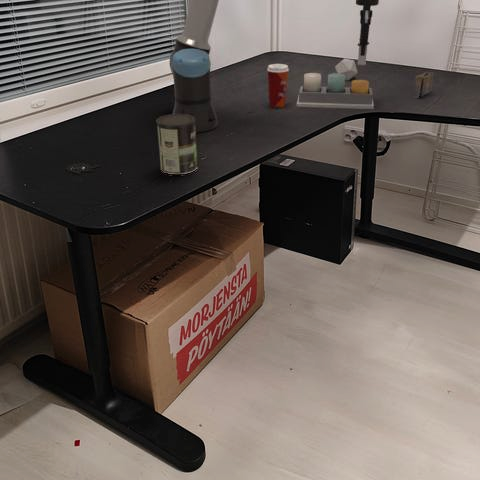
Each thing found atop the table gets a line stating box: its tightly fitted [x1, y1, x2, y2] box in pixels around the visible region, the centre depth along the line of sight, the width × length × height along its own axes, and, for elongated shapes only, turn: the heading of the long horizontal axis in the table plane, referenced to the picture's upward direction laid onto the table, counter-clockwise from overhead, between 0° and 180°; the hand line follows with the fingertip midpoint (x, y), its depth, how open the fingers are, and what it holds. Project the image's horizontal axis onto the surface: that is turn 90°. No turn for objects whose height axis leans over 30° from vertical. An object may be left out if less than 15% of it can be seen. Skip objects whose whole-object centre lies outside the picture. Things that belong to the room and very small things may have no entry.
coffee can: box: [155, 113, 199, 174], centre depth 164 cm, size 10×10×14 cm
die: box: [334, 58, 358, 82], centre depth 247 cm, size 8×9×10 cm
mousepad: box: [66, 162, 102, 175], centre depth 168 cm, size 9×8×1 cm
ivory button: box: [303, 72, 322, 92], centre depth 218 cm, size 6×6×6 cm
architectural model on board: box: [412, 71, 434, 97], centre depth 225 cm, size 11×3×10 cm, turn 143°
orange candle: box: [351, 79, 370, 94], centre depth 216 cm, size 6×6×6 cm
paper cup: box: [266, 63, 290, 108], centre depth 215 cm, size 8×8×14 cm
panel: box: [296, 85, 375, 110], centre depth 219 cm, size 27×13×4 cm, turn 82°
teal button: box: [327, 72, 346, 93], centre depth 217 cm, size 6×6×6 cm
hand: (361, 64), depth 212 cm, fingers closed
